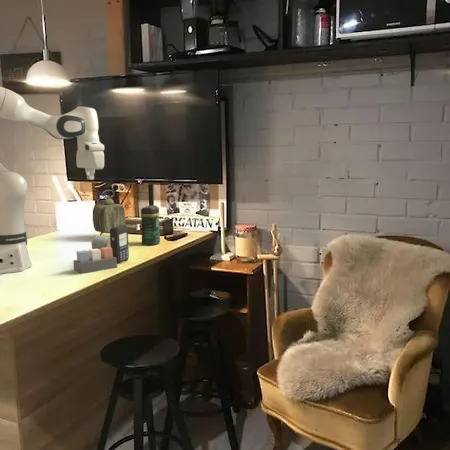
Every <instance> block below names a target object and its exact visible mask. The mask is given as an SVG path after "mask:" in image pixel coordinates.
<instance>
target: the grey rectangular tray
mask: <svg viewBox="0 0 450 450" xmlns="http://www.w3.org/2000/svg"><path fill="white" fill-rule="evenodd" d="M115 268H116V269H117V268H118V264H117V258H116V257H112V258H106V259H104V258H101V259H100V260H94V261H92V260H89V261H88V262H82V263H80V262H77V259H73V270H74V271H75V272H76V273H79V274H82V275H83V274H88V273H94V272H99V271H106V270H111V269H115Z"/></svg>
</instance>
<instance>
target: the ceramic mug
mask: <svg viewBox="0 0 450 450" xmlns="http://www.w3.org/2000/svg"><path fill="white" fill-rule="evenodd" d="M104 247H110V248H111V245H110V236H104V235H101V236H100V234H98V235H97V234H96V235H95V236H93V238H92V240H91V248H92V249H100V248H104Z"/></svg>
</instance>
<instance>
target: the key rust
mask: <svg viewBox="0 0 450 450" xmlns="http://www.w3.org/2000/svg"><path fill="white" fill-rule="evenodd" d="M100 250H101V258H104V259H106V258H112V257H113V252H112V248H110V247H104V248H100Z"/></svg>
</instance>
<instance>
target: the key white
mask: <svg viewBox="0 0 450 450" xmlns="http://www.w3.org/2000/svg"><path fill="white" fill-rule="evenodd" d="M88 252H89V260H92V261H94V260H100V259H101V250H100V249H88Z"/></svg>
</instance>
